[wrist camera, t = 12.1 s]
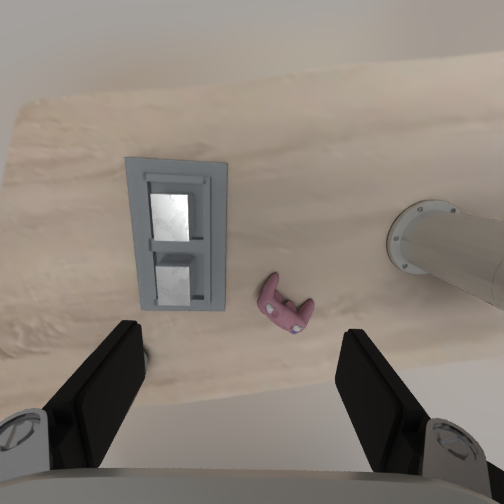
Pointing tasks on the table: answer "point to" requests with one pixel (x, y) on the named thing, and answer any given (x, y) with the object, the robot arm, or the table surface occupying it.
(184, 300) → the block
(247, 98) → the table surface
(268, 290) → the video game controller
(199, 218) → the grey fixture tray
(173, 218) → the billet
